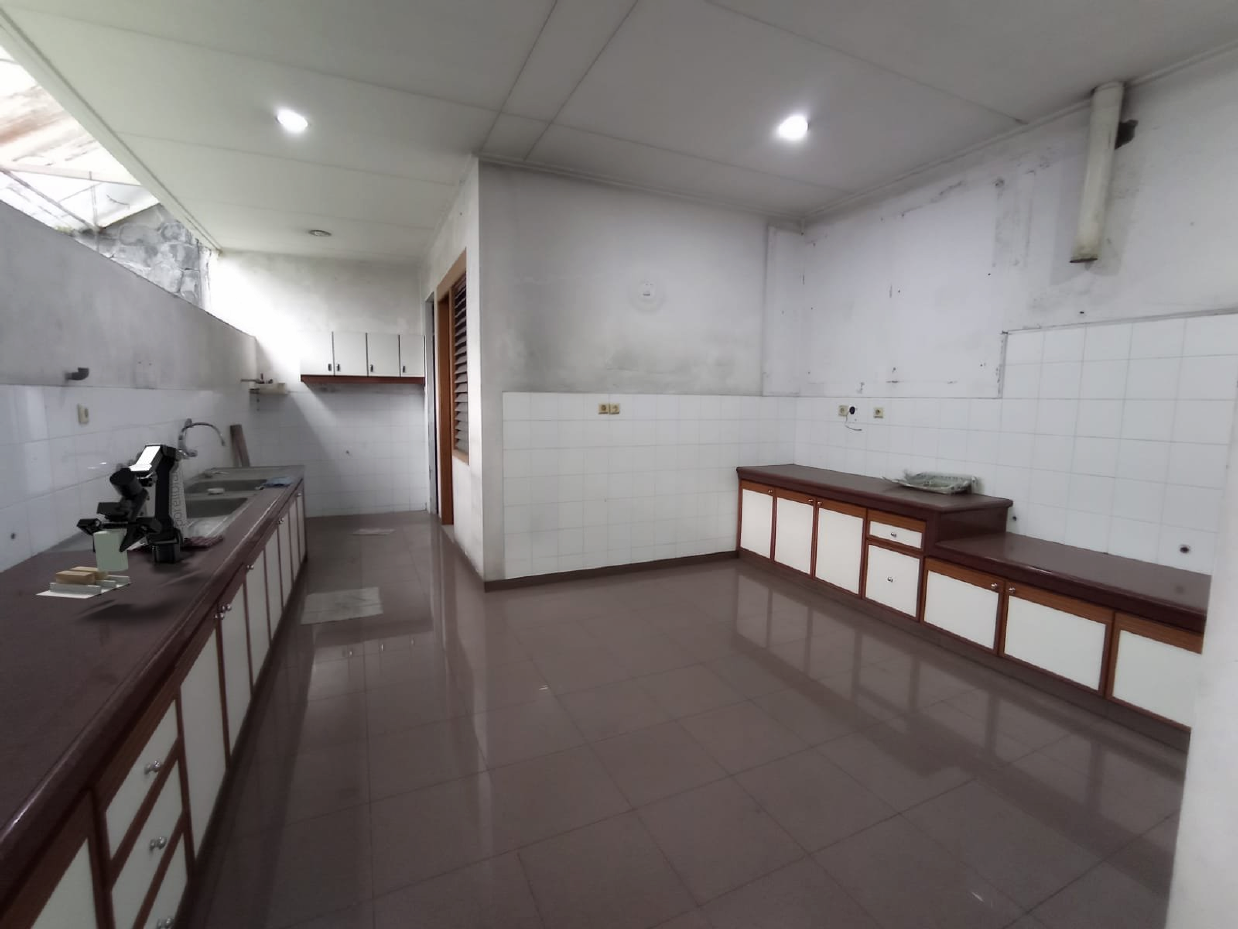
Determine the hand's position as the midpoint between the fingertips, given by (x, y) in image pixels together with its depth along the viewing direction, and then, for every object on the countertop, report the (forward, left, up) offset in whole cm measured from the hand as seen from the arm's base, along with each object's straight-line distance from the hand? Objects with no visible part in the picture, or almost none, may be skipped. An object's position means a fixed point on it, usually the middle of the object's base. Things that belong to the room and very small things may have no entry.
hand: (107, 552), depth 155 cm
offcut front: (+13, -11, -12) cm, 21 cm away
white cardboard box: (+20, -60, -14) cm, 64 cm away
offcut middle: (+14, -8, -12) cm, 20 cm away
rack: (+12, -7, -13) cm, 19 cm away
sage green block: (0, -1, -6) cm, 6 cm away
